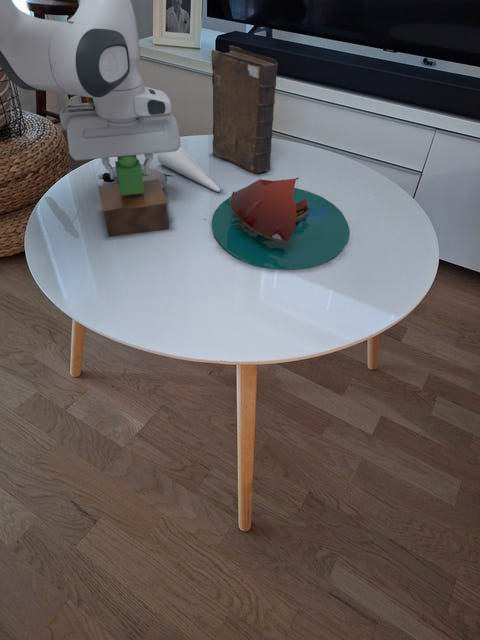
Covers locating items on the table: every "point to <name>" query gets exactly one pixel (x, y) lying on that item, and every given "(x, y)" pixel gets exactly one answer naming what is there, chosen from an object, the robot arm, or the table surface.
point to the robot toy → (152, 175)
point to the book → (243, 107)
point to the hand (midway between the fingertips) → (129, 176)
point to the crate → (134, 209)
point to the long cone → (186, 167)
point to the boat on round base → (280, 226)
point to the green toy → (129, 175)
